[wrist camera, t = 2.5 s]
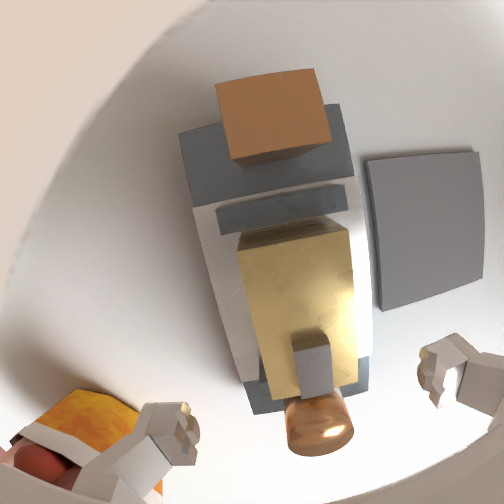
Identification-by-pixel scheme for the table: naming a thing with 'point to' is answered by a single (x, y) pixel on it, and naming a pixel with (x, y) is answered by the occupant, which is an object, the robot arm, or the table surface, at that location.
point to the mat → (426, 224)
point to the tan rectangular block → (302, 305)
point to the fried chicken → (73, 439)
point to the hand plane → (274, 213)
